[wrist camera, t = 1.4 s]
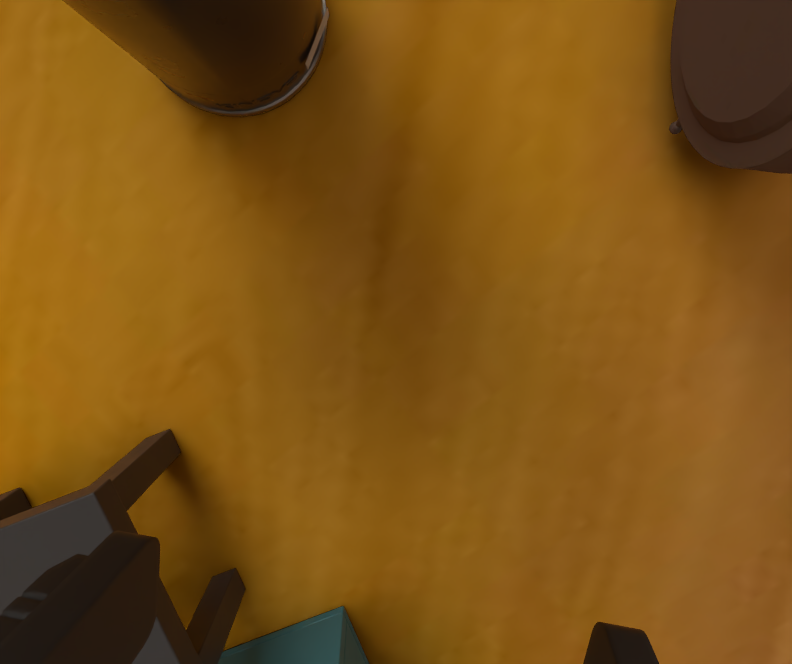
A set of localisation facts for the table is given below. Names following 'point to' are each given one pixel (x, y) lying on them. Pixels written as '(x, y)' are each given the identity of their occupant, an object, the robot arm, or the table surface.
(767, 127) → the alarm clock
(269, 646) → the teal open box
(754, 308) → the table surface
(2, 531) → the stool
